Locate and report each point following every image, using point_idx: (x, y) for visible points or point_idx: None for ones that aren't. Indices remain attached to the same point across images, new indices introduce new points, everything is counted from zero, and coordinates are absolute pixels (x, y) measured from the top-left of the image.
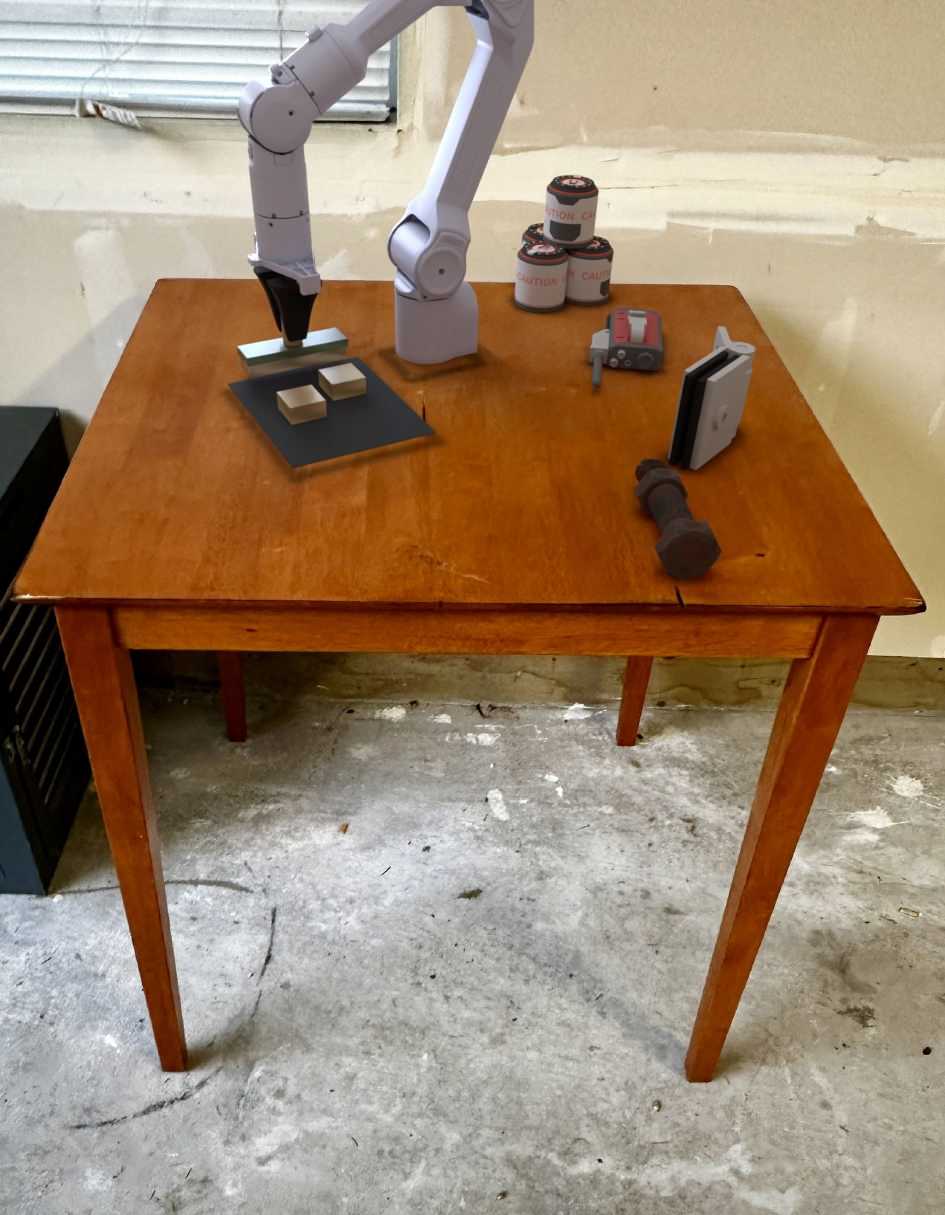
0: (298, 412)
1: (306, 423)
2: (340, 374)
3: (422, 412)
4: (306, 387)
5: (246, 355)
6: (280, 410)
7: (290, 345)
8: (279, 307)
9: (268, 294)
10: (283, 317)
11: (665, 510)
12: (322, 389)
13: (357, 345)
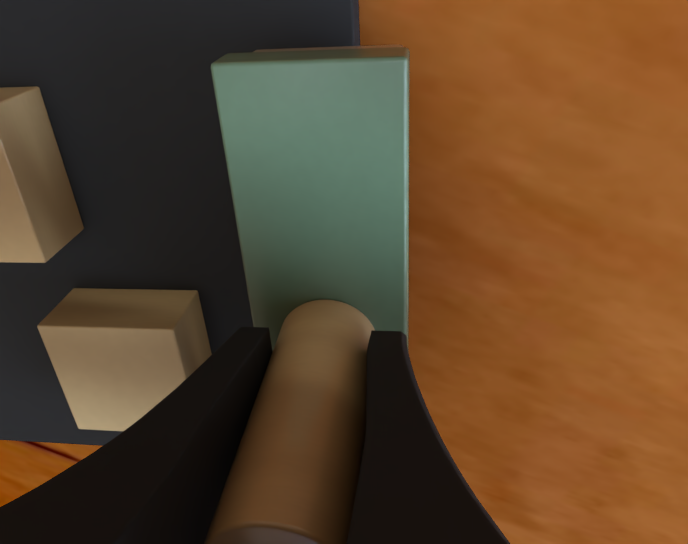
0: None
1: None
2: (113, 376)
3: (50, 447)
4: (20, 237)
5: (250, 73)
6: (9, 88)
7: (284, 317)
8: (153, 453)
9: (363, 483)
10: (153, 411)
11: None
12: (167, 288)
13: (517, 484)
